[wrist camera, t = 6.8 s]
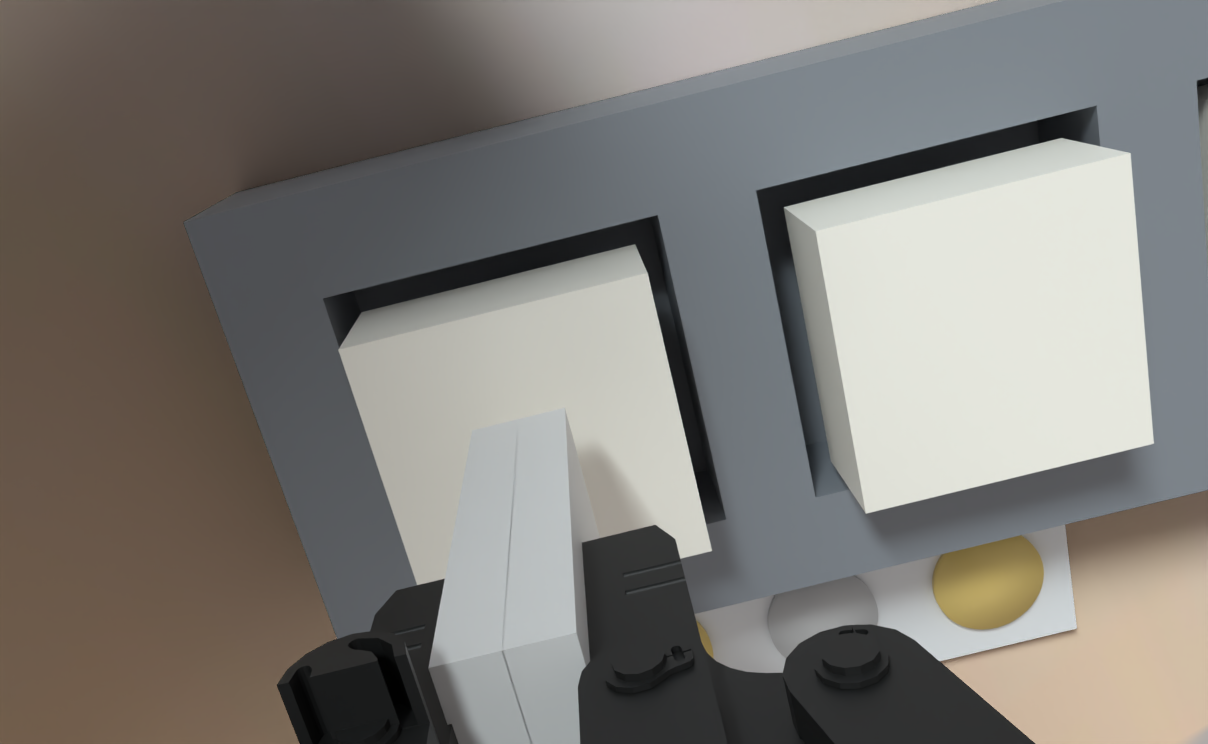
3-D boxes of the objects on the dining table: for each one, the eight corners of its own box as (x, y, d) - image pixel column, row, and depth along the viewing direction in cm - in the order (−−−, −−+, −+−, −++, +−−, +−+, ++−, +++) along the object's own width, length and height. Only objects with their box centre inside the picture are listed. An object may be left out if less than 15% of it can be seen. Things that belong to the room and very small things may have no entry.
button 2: (830, 461, 21) (866, 513, 19) (783, 207, 20) (815, 231, 17) (1087, 398, 21) (1154, 443, 19) (1061, 138, 19) (1130, 153, 17)
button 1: (440, 556, 21) (428, 620, 19) (361, 311, 20) (338, 349, 17) (693, 494, 21) (712, 551, 19) (635, 244, 20) (647, 272, 17)
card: (595, 733, 27) (597, 748, 26) (555, 595, 25) (555, 608, 25) (1068, 619, 26) (1080, 632, 26) (1052, 475, 25) (1064, 485, 24)
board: (382, 606, 25) (358, 695, 22) (236, 192, 22) (182, 221, 19) (1474, 340, 25) (1620, 390, 21) (1485, -123, 21) (1658, -149, 18)
